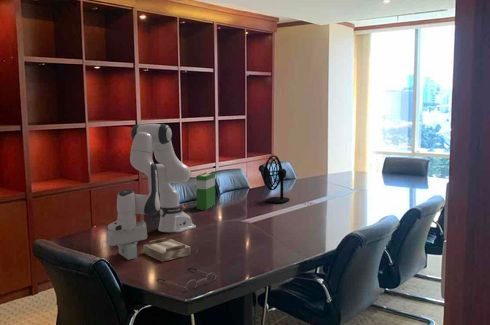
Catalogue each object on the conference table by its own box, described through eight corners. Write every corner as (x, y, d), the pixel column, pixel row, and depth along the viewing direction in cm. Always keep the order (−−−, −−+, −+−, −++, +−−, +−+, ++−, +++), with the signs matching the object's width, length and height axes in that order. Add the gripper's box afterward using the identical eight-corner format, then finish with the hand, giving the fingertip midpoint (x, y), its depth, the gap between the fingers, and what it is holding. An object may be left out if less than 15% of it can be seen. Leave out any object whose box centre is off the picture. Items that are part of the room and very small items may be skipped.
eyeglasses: (185, 293, 187) (185, 283, 186) (156, 282, 199) (155, 273, 199) (218, 280, 200) (217, 271, 200) (188, 271, 213) (187, 262, 212)
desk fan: (273, 197, 379) (274, 153, 375) (294, 199, 371) (294, 154, 367) (258, 203, 356) (258, 156, 352) (279, 205, 347) (279, 158, 343)
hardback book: (205, 204, 351) (205, 172, 348) (215, 205, 349) (214, 172, 346) (196, 209, 334) (196, 176, 331) (206, 210, 332) (206, 176, 329)
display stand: (171, 246, 246) (171, 236, 246) (190, 254, 233) (190, 243, 232) (143, 252, 236) (143, 242, 235) (162, 261, 223) (162, 250, 222)
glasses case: (127, 251, 238) (127, 240, 237) (137, 258, 228) (136, 245, 227) (119, 253, 235) (118, 241, 235) (128, 259, 226) (127, 247, 225)
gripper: (142, 219, 239) (143, 245, 241) (104, 225, 226) (105, 254, 227) (149, 221, 234) (149, 248, 236) (110, 228, 221) (111, 257, 223)
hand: (127, 251), depth 231 cm, fingers closed on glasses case, 5 cm apart
